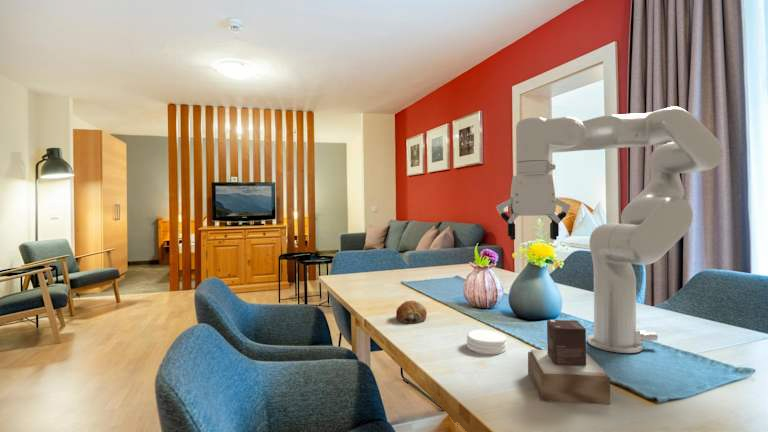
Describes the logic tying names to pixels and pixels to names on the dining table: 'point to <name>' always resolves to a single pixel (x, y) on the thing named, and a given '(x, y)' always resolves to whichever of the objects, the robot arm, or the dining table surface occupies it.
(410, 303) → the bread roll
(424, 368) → the dining table surface
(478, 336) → the coaster
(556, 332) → the box
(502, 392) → the dining table surface
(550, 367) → the plinth
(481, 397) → the dining table surface
